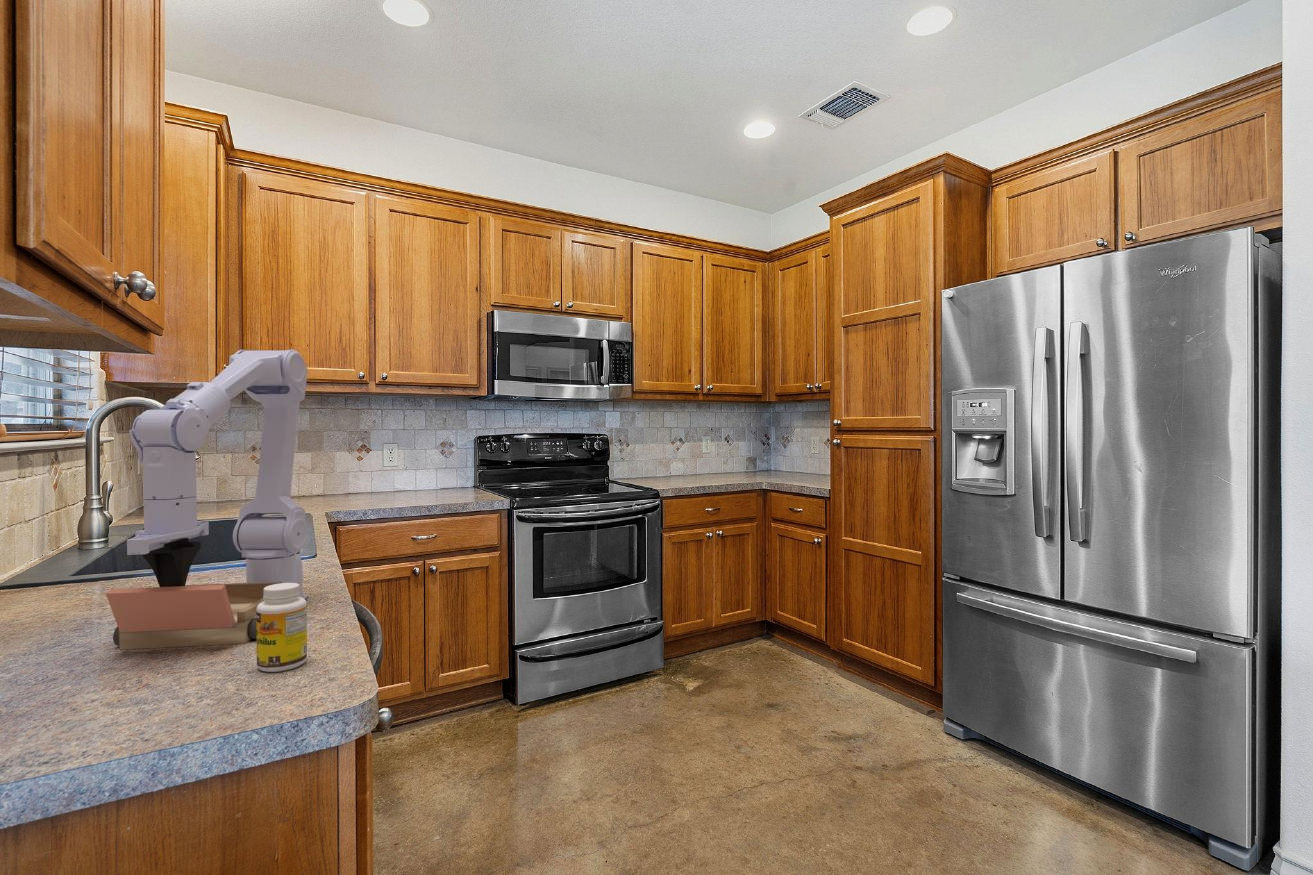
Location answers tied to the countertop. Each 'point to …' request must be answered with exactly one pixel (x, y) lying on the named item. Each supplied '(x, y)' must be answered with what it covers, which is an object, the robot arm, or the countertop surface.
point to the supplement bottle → (281, 628)
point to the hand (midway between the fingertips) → (172, 597)
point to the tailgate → (171, 608)
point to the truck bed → (244, 612)
